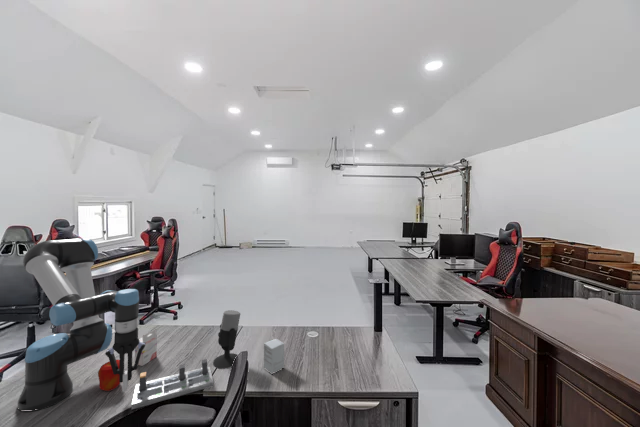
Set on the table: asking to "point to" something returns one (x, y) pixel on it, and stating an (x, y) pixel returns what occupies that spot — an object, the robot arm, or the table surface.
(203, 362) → the breaker right
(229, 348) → the microphone
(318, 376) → the table surface
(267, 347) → the supplement box
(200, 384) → the breaker panel
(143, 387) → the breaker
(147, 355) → the ink cartridge box
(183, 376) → the breaker mid
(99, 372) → the apple
